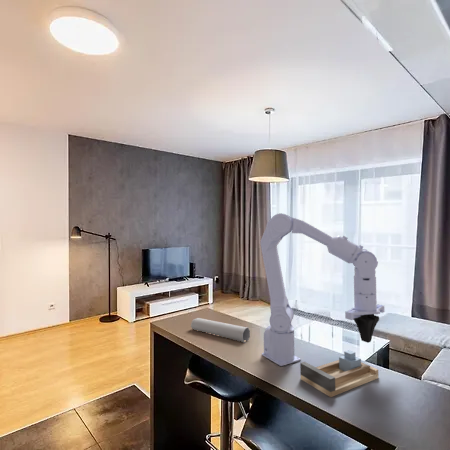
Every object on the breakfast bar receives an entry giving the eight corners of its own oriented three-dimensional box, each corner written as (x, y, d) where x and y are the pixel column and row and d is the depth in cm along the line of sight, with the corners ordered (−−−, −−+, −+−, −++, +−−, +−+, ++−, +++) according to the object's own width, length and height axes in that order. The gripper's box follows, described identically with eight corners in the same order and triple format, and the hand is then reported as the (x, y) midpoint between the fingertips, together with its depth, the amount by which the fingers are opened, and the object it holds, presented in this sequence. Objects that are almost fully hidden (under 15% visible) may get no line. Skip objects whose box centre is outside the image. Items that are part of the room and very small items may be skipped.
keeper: (339, 368, 82) (338, 351, 82) (349, 365, 84) (348, 348, 84) (351, 374, 79) (350, 356, 79) (361, 370, 81) (360, 352, 81)
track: (300, 379, 79) (300, 363, 80) (346, 363, 88) (346, 349, 88) (330, 397, 71) (330, 379, 71) (378, 378, 80) (378, 362, 80)
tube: (187, 321, 118) (241, 333, 104) (195, 314, 122) (248, 324, 108) (190, 333, 119) (244, 346, 105) (198, 325, 123) (251, 337, 109)
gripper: (360, 298, 78) (361, 351, 78) (394, 292, 85) (395, 340, 85) (338, 293, 84) (339, 342, 84) (371, 288, 91) (372, 333, 91)
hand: (366, 341), depth 85 cm, fingers closed
